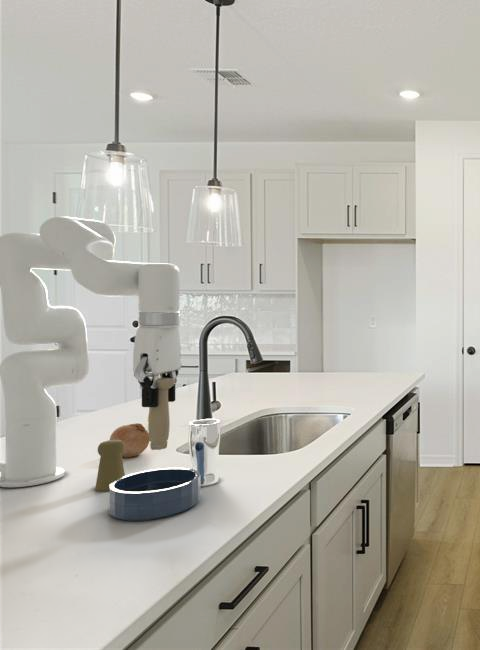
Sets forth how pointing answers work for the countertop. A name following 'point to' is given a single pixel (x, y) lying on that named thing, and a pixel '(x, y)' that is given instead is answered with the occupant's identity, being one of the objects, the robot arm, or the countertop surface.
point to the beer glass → (205, 449)
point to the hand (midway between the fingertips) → (158, 403)
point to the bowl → (154, 494)
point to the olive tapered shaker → (109, 464)
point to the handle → (160, 416)
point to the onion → (132, 439)
